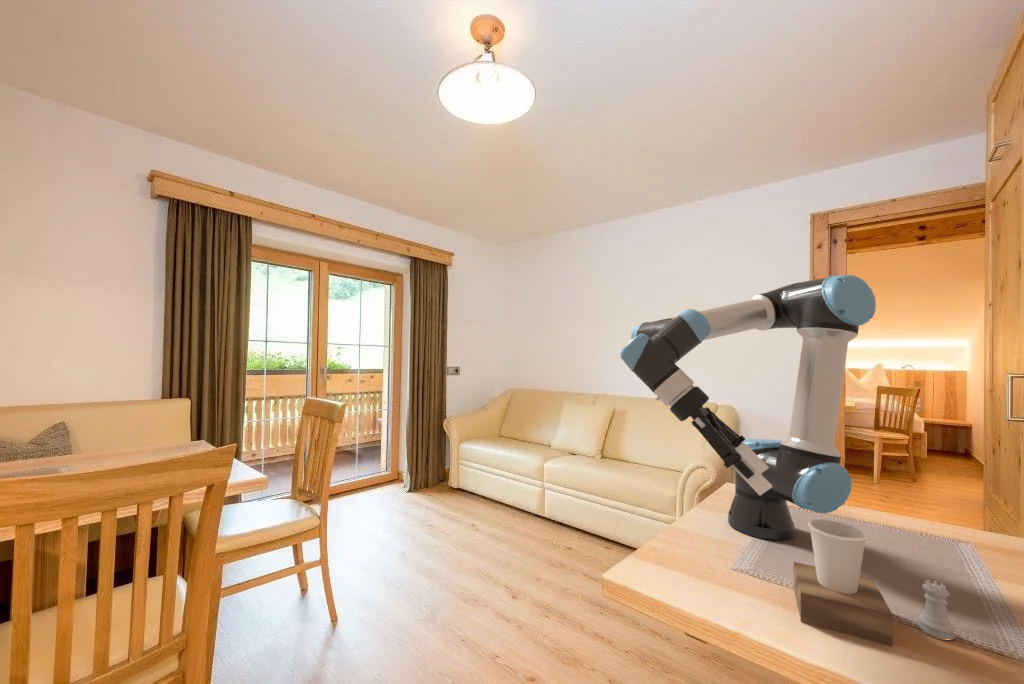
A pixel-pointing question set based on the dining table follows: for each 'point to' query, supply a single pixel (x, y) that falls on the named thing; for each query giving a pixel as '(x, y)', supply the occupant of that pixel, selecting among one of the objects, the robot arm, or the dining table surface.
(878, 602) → the walnut block
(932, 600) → the rook chess piece
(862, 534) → the dixie cup
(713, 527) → the dining table surface
